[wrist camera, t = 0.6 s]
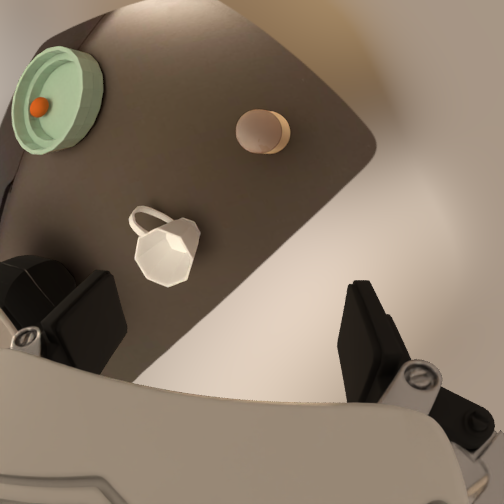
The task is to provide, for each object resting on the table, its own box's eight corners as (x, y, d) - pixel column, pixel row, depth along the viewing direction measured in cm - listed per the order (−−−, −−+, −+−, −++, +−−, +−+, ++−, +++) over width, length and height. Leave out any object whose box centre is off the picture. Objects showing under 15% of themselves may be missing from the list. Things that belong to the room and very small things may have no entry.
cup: (189, 267, 39) (169, 298, 32) (135, 219, 37) (105, 241, 30) (221, 232, 37) (206, 259, 29) (163, 181, 35) (134, 195, 27)
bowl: (44, 57, 27) (21, 55, 22) (116, 48, 27) (94, 39, 22) (31, 146, 34) (7, 151, 29) (97, 153, 34) (73, 158, 29)
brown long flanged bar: (251, 107, 30) (228, 88, 16) (294, 117, 30) (305, 104, 16) (242, 148, 32) (213, 160, 18) (284, 157, 32) (287, 176, 18)
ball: (41, 97, 30) (27, 97, 27) (54, 96, 30) (40, 96, 27) (38, 117, 31) (24, 118, 28) (51, 116, 31) (37, 118, 28)
